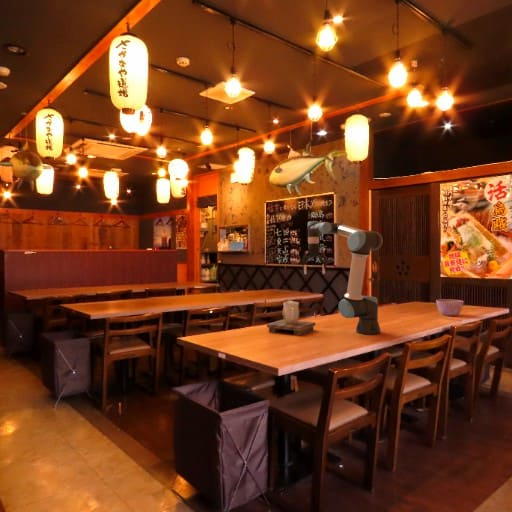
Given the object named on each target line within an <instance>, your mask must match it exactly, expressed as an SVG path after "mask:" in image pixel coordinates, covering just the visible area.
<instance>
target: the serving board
mask: <svg viewBox="0 0 512 512" xmlns="http://www.w3.org/2000/svg"><path fill="white" fill-rule="evenodd" d="M315 326H316V322H315V321H305V320H298V321H297V322H296V323H295V324H287V323H286V322H285V321H284V318H283V319H280V320H276V321H273V322H269V323H267V324H266V328H268V332H269V333H277V332H279V331H282V330H286V331H293V336H299V335H300V336H302V335H305V334H308V333H309V331H310V332H313V331H314V327H315ZM304 333H305V334H304ZM301 334H302V335H301Z"/></svg>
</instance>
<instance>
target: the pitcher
mask: <svg viewBox="0 0 512 512" xmlns="http://www.w3.org/2000/svg"><path fill="white" fill-rule="evenodd" d="M299 305H300V303H299V302H298V301H294V300H290V299H289V300H287V301H283V308H282V318H283V319H284V321H285V322H286V323H287V324H295V323H296V322H297V321H299V318H300V308H299Z"/></svg>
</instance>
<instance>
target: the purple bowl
mask: <svg viewBox="0 0 512 512" xmlns="http://www.w3.org/2000/svg"><path fill="white" fill-rule="evenodd" d="M435 302H436V306H437V310H438V312H439V313H440V314H442V315H443V316H445V317H455V316H457V315H459V314H460V313H461V312H462V310H463V306H464V304H465V303H464V302H465V301H464V300H461V299H449V298H448V299H447V298H441V299H440V298H439V299H436V300H435Z"/></svg>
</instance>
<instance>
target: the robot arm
mask: <svg viewBox="0 0 512 512" xmlns="http://www.w3.org/2000/svg"><path fill="white" fill-rule="evenodd" d="M331 234H332V235H337V236H341V237H345V238H347V247H348V249H349V250H350V251H349V252H350V254H351V255H352V256H351V261H350V263H351V264H350V270H349V276H348V282H347V290H346V293H345V294H344V295H343V299H341V300H340V301H339V302H338V311H339V313H340V315H341V316H342V317H343V318H345V319H356V318H358V322H357V324H356V328H355V332H356V333H357V334H361V335H371V336H372V335H379V334H381V331H382V330H381V326H380V323H379V321H378V319H379V303H378V298H377V297H376V296H370V295H362V293H363V292H362V291H363V285H364V279H365V278H364V277H365V272H366V266H367V258H368V257H369V256H370V254H371V251H376V250H379V249H380V248H381V247H382V245H383V242H384V241H383V236H382V235H381V233H379V232H378V231H373V230H368V231H367V230H363V229H360V228H356V227H353V226H349V225H347V224H346V225H345V223H343V222H328V221H322V222H319V221H318V220H311V221H308V222H307V243H308V245H307V246H308V247H307V248H308V250H304V251H303V255H302V258H301V260H300V262H299V264H300V265H302V270H303V274H304V275H307V273H308V272H307V263H308V262H309V260H310V259H311V258H318V259H319V260H320V261H321V262H322V275H325V274H326V269H327V264H329V260H328V258H327V256H326V254H325V251H324V249H320V235H331Z"/></svg>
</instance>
